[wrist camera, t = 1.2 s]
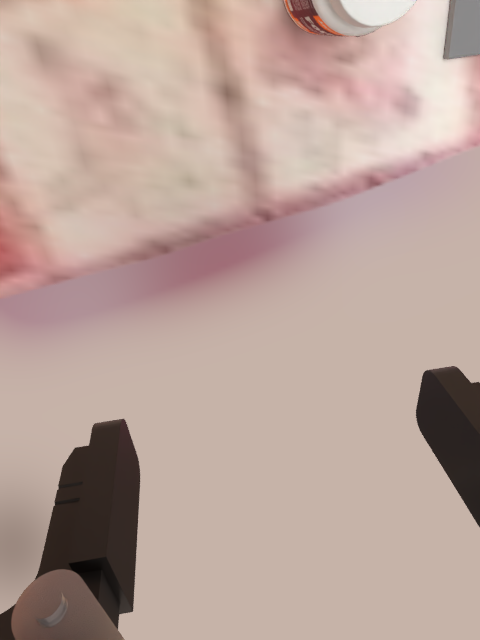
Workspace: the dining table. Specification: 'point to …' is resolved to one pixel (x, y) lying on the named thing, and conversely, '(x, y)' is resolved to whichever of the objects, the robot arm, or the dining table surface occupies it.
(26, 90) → the dining table surface
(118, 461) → the robot arm
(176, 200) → the dining table surface
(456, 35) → the plate
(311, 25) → the pill bottle
